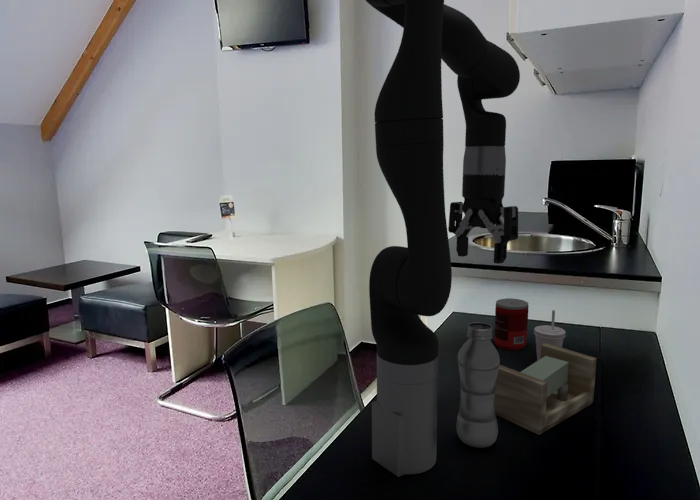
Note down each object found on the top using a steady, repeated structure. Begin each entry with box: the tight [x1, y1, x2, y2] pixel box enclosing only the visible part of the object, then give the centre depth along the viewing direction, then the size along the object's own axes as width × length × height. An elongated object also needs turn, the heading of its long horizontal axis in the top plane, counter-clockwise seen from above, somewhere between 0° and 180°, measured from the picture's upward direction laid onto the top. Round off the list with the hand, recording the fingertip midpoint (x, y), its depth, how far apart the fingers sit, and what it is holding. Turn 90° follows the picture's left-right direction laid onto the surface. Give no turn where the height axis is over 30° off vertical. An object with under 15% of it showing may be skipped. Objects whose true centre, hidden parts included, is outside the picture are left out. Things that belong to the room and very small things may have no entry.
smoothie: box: [533, 309, 567, 362], centre depth 109 cm, size 6×6×14 cm
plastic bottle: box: [455, 321, 501, 449], centre depth 82 cm, size 6×7×20 cm
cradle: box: [495, 343, 598, 436], centre depth 94 cm, size 18×10×9 cm, turn 128°
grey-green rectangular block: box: [520, 356, 569, 397], centre depth 94 cm, size 12×4×4 cm, turn 135°
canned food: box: [493, 297, 529, 351], centre depth 126 cm, size 8×8×11 cm
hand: (480, 259), depth 95 cm, fingers open, 8 cm apart
